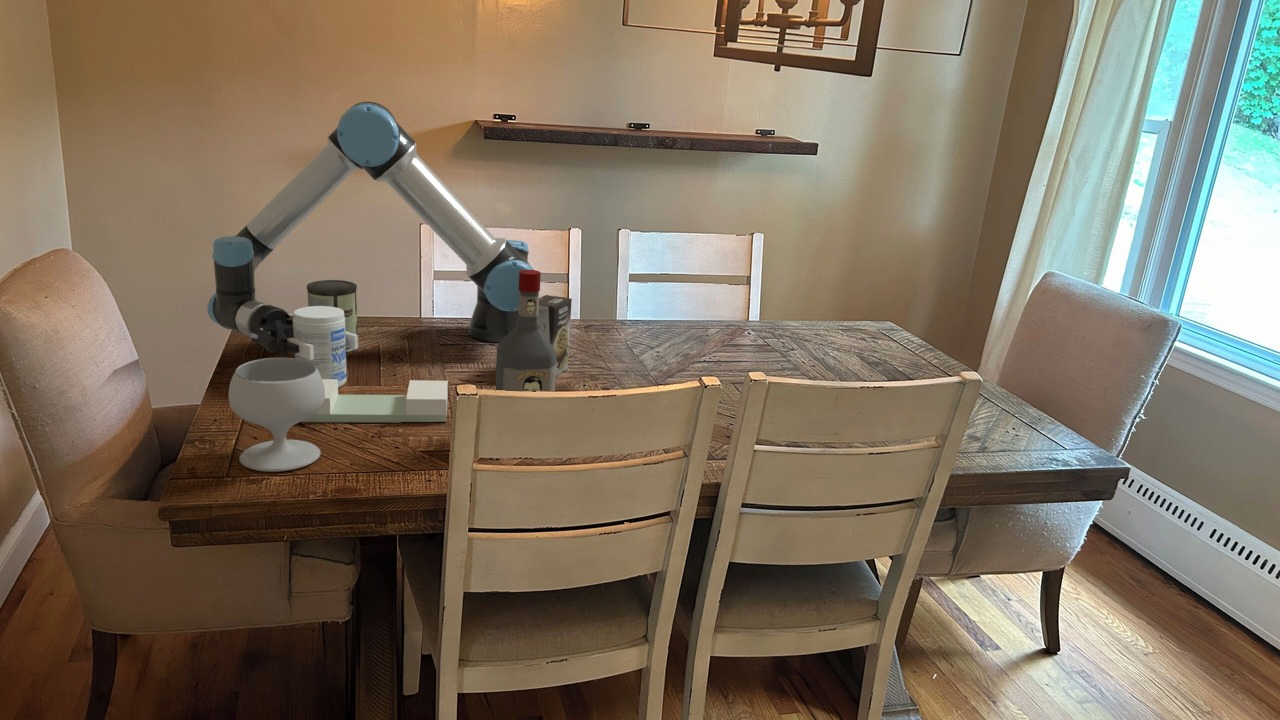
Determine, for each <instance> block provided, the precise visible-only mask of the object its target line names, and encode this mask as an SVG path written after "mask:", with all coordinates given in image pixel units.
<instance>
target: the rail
mask: <svg viewBox="0 0 1280 720" xmlns="http://www.w3.org/2000/svg"><path fill="white" fill-rule="evenodd" d="M322 380H323V384H324V388H325V399H324V402H323V404H322V406H321V408H320V409H319V410H318V411H317V412H316V413H315V414H313V415H312V416H311V417H309V418H307V419H305V420H303V421H301V422H300V423H401V422H438V421H440V422H441V421H443V422H444V421H445V422H446V423H447V417H446V416H448V415H447V414H448V390H449V389H448V386H449V383H448V381H449V380H426V379H425V380H417V379H416V380H415V379H412V380H411V379H410V380H409V384H408V388H407V391H406V392H407V394H342V393H341V394H339V387H338V379H322Z"/></svg>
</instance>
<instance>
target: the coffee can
mask: <svg viewBox="0 0 1280 720" xmlns="http://www.w3.org/2000/svg"><path fill="white" fill-rule="evenodd" d="M357 286H358V285H357V284H356V283H354V282H353V281H348V280H342V279H329V280H328V279H325V280H323V279H322V280H317V281H312V282H308V284H307V285H306V290H307V307H310V306H329V307H336V308H340V309H342V310H343V311H344V317H345V331H347V332H350V333H353V334H356V335H358V315H357V314H358V313H357V311H358V309H357V308H358V307H357V306H358V305H357V304H358V303H357V290H358V287H357ZM355 350H356V349H353V348H350V347H347V346H346V353H350V352H352V351H353V352H354V351H355Z"/></svg>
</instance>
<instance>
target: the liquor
mask: <svg viewBox="0 0 1280 720" xmlns="http://www.w3.org/2000/svg"><path fill="white" fill-rule="evenodd" d="M541 273H542V272H541V271H540V270H535V269H534V270H520V271H519V289H518V290H520V291H519V310H518V320H517V322H516V327H515V328H514V329H513V330H512V331H511V332H510V333H509V334H508V335H507V336H506V337H505V338H504V339H503V340H502V341H501V342H498V346H497V347H496V361H495V362H496V363H495V364H496V367H495V368H496V369H495V391H496V390H506V391H532V392H536V391H555V392H556V378H557V376H556V360H557V355H556V352H555V349H554V348H553V346H552V345H551V344H550V342H549V341H548V340H547V338H546V337H545V336H544V334H543V333H542V332H541V330H540V329H539V322H538V305H539V298H540V292H541Z"/></svg>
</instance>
